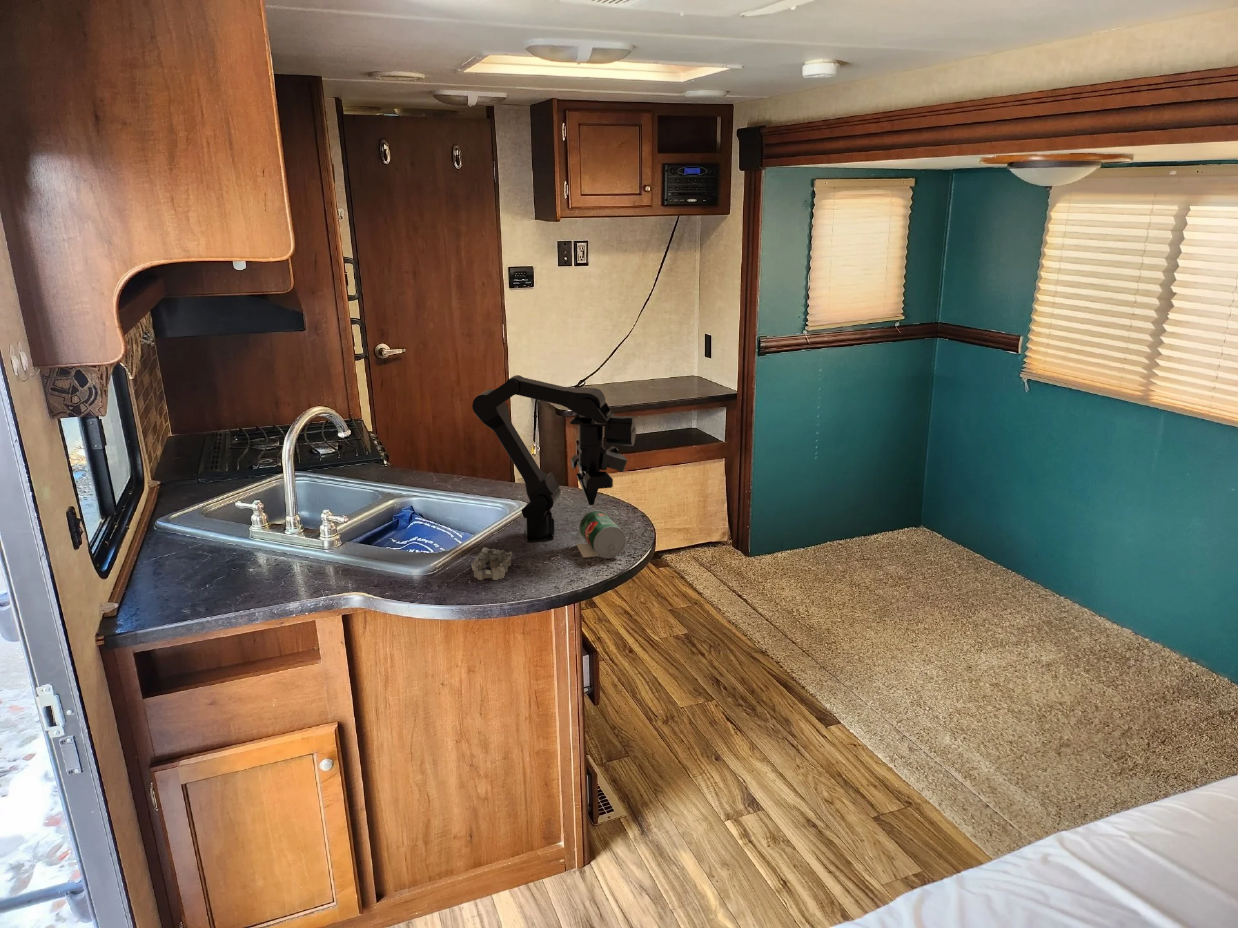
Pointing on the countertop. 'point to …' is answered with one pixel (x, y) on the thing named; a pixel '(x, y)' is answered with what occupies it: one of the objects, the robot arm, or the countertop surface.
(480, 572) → the egg carton
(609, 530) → the canned tomato
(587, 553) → the mat
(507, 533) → the countertop surface
